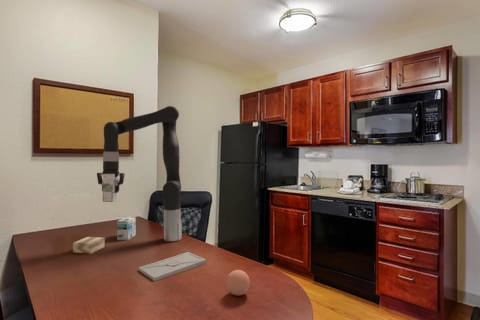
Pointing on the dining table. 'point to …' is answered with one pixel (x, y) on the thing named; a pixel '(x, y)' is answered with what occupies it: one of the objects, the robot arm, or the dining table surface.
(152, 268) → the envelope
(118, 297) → the dining table surface
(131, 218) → the light bulb box
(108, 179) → the syrup box
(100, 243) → the maple block
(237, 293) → the toy ball
